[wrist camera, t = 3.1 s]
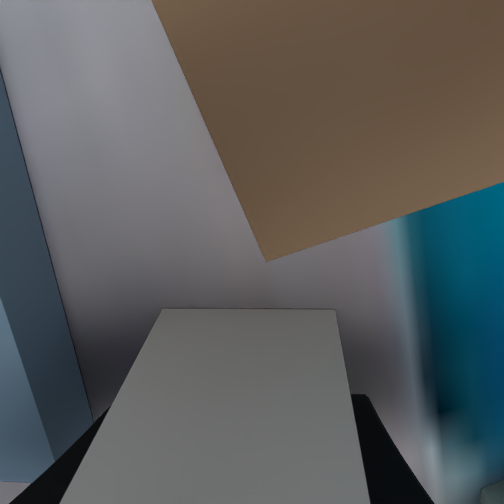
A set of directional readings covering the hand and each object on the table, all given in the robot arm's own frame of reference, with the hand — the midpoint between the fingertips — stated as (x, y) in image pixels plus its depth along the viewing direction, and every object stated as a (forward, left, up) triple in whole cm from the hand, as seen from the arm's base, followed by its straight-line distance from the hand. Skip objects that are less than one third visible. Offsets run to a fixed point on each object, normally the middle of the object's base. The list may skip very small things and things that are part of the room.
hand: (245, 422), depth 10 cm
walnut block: (+8, -2, -2) cm, 8 cm away
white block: (0, 0, -2) cm, 2 cm away
